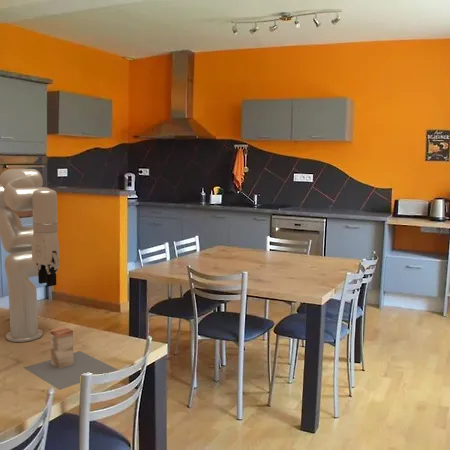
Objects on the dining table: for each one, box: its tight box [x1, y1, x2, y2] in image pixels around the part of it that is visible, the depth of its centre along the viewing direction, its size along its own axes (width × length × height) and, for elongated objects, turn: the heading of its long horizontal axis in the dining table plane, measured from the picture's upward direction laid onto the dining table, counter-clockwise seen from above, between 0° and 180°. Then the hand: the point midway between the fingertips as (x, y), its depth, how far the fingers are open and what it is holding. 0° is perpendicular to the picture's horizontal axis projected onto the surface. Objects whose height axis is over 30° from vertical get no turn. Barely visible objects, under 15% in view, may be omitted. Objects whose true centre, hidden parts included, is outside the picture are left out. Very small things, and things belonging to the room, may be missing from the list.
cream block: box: [49, 326, 74, 369], centre depth 169 cm, size 5×5×11 cm
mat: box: [23, 350, 119, 391], centre depth 167 cm, size 22×20×1 cm
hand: (47, 283), depth 172 cm, fingers open, 4 cm apart
